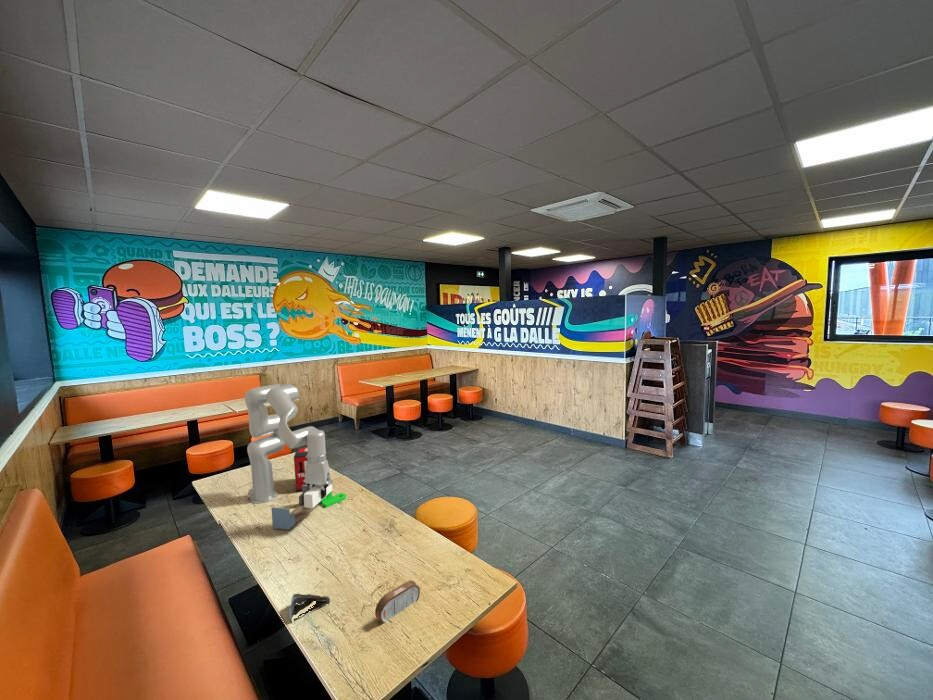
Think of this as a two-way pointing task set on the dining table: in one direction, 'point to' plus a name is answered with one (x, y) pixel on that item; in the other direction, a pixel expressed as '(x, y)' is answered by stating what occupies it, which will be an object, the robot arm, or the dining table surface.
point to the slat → (315, 495)
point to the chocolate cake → (302, 598)
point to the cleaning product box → (300, 467)
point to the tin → (397, 600)
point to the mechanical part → (332, 499)
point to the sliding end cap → (282, 518)
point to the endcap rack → (301, 508)
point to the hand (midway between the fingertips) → (318, 496)
